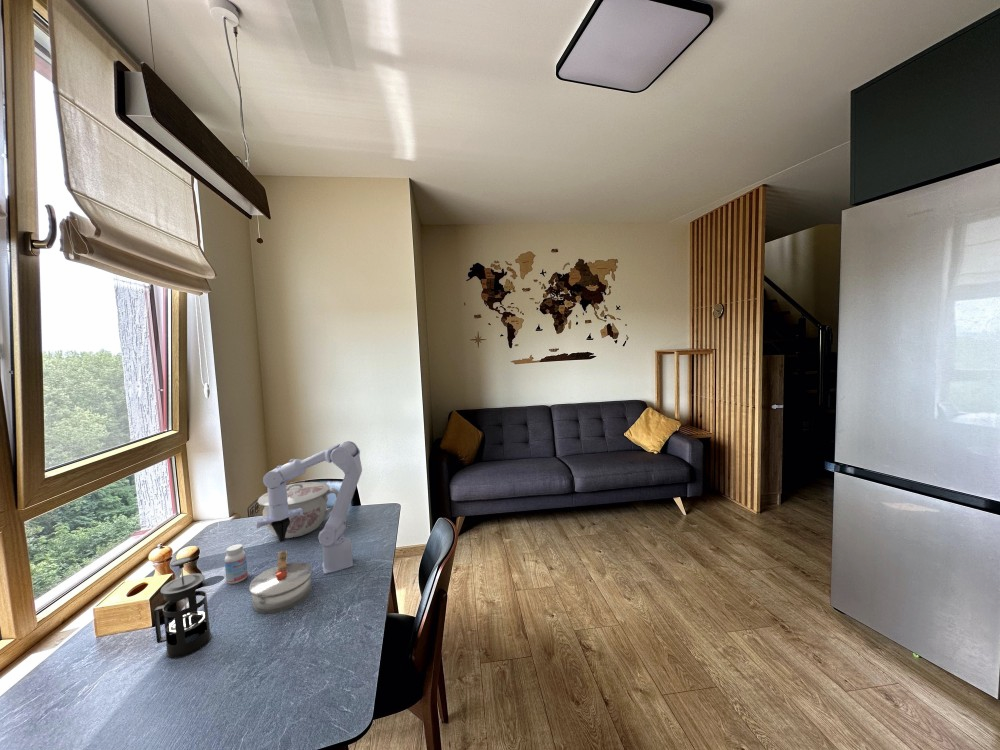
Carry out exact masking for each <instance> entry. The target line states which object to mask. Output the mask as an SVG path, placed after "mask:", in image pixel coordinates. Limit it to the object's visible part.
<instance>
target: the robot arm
mask: <svg viewBox="0 0 1000 750" xmlns="http://www.w3.org/2000/svg"><path fill="white" fill-rule="evenodd" d="M360 454H361V450H360V448H359V447H358V446H357V444H356V443H355V442H353V441H350V440H348V441H344V442H343V443H342V444H341V443H337V444H335V445H332V446H329V447H326V448H324V449H323V450H321V451H319V452H317V453H314V454H313V455H311V456H308V457H307V458H304V459H301V458H296V459H295V458H291V459H289V460H288V462H287V463H285V464H283V465H281V464H280V465H277V466H276V467H275V468H274V469H272V470H270V471H268V472H266V473H265V474H264V475H263V478H262V483H263V485H264V487H267V492H268V501H269V512H270V516H268V517H266V518H263V517H262V519H259V520H256V521H254V526H255V528H256V529H257V530H258V529H261V528H263V527H266V525H268V524H271V526H272V527H273V529H274V530H275V532H276V534H277V536H276V537H277V538H278V539H277V540H278V542H279V543H283V542H285V540H286V538H285V535H286V531H287V528H288V526H289V524H290V520H289V518H290V517H294V516H297V515H302V514H303V512H302V509H301V508H298V509H294V510H289V511H288V501H287V489H286V486H287V482H289V481H291V480H293V479H295V478H298V477H300V476H302V475H304V474H305V473H306V471H307V469H308V468H310V467H311V468H312V467H313V466H315V465H318V464H320V463H322V462H327V463H329V464H331V463H333V465H335V466H336V467H338V468H339V469H340V470H341V471H342V472H343V473H344V477H343V479H342V483H341V485H340V488H339V490H338V492H339V493H338V496H337V498H336V499H335V502H334V504H333V505H334V507H333V510H332V511H331V512H330V515H329V517H328V519H327V521H326V522H325V525H324V527H323V528H322V529H321V530H320V531H319V533H318V536H317V538H318V541H319V544H320V545H322V546H321V547H322V558H323V562H322V563H321V565H322V571H323V575H327V574H330V573H334V572H337V571H341V570H344V569H348V568H352V567H353V566H354V560H353V557H354V556H353V551H352V549H353V548H352V540H351V537H350V536H348V537H345V536H344V533H345V531H346V529H347V523H346V522H347V513H348V512H349V508H350V505H351V502H352V500H353V498H354V495H355V491H356V489H357V485H358V483H359V480H360V477H361V475H362V471H363V468H362V467H363V466H362V461H361V458H360V456H361V455H360Z"/></svg>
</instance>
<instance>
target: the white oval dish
mask: <svg viewBox="0 0 1000 750" xmlns="http://www.w3.org/2000/svg"><path fill="white" fill-rule="evenodd" d="M312 589H313V588H312V576H311V577H310V578H309V580H308V581H307V582H305V583H304V584H303V585H301V586H300V587H298V588H296V589H294V590H292V591H290V592H287V593H285V594H282V595H278V596H273V597H256V596H253V595H252V594H251V599H252V609H253V611H255V612H256V613H258V614H261V615H266V614H267V615H268V614H269V615H271V614H277V613H281V612H284V611H287V610H289V609H292V608H294V607H296V606H297V605H299V604H301V603H302V602H303V601H305V600H306V599H308V597H309V596H310V595H311V593H312Z"/></svg>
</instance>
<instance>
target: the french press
mask: <svg viewBox="0 0 1000 750" xmlns="http://www.w3.org/2000/svg"><path fill="white" fill-rule="evenodd" d="M191 560H192V557H187V556H186V557H182V558H178V559H175V560H173V561H172V562H171V563H170V567H178V569H180V574H181V576H180V577H176V578H175V579H171V581H169V582H167V583H165V584H164V585H163V586H162V587H161V589H160V593H161V595H163V599H164V601H167V602H166V603H165V604H162V605H159V606H156V607H155V609H154V610H153V618H154V619H153V620H154V627H155V628H154V629H155V638H156V643H157V644H160V643H165V642H166V643H165V644H166V652H165V653H166V657H167V658H169V659H180V658H184V657H188V656H191V655H192V654H194V653H196V652H198V651H200V650H202V649H203V648H204V647H205V646H206V645H208V643H210V641H211V640H212V632H211V625H210V618H209V616H210V615H209V607H208V600H207V599H208V598H207V596H208V595H207V592H206V591H204V590H197V589H198V587H199V586H200V585H201V583H203V582H204V581H205V575H204V573H197V572H196V573H189V574H186V575H184V571H183V570H184V569H183V568H184V565H187V564H188V563H189V562H191ZM198 596H200V597H201V596H202V597H203V598H202V599H201V600H200V601H198V602H197V597H198ZM187 599H188V600H187ZM181 600H183V601H184V602H183V603H184V609H180V610H176V611H168V609H169V608H170V607H171V606H172V605H174V604H175V603H177V602H180V601H181ZM186 600H187V601H188V606H187V601H186ZM202 606H203V609H204V610H198V609H199V608H202ZM159 611H162V615H163V621H164V631H165V636H163V637H162V632H161V622H160V614H159V613H160V612H159ZM169 618H170V619H171V618H174V620H172V621H171V622H170V621H169ZM169 622H170V623H169ZM195 635H196V636H197V635H198V636H197V637H195V638H194V639H191V640H188V641H186V638H189V637H192V636H195Z"/></svg>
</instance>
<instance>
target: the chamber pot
mask: <svg viewBox="0 0 1000 750" xmlns="http://www.w3.org/2000/svg"><path fill="white" fill-rule="evenodd" d="M286 489H287V501H288V511H289V510H294V509H298V508H301V509H302V512H303V514H302V515H297V516H294V517H290V518H289V520H290V524H289V526H288V528H287V531H286V535H285V539H291V538H292V539H294V538H298V537H302V536H305V535H308V534H309V533H312V532H314V531H315V530H316V529H318V528H319V526H320V525H321V524H322V522H324V520H325V519H326V518H327V516H328V515H329V514H331V513H332V510H333V507H334V504H333V505H332V506H331V507H330V508H328V500H329V497H328V495H330V494H334V495H335V498H336V499H337V496H338V493H339V490H338V489H337V488H334V487H330V485H328V484H327V483H326V482H319V481H318V482H317V481H309V482H307V481H306V482H297V483H292V484H288V485H287V484H286ZM257 503H258V504H259V505H260V506H263V507H264V508H263V510H262V519H263V518H266V517H268V516H270V512H269V501H268V491H267V492H266V493H263V494H261V496H260V497H258V500H257ZM265 527H266V528H267V529H268V530H269V531H270V532H271V534H272V535H274V536H276V537H277V534H276V532H275V530H274V529H273V527H272V526H271V524H268V525H265ZM293 537H294V538H293Z"/></svg>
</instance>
